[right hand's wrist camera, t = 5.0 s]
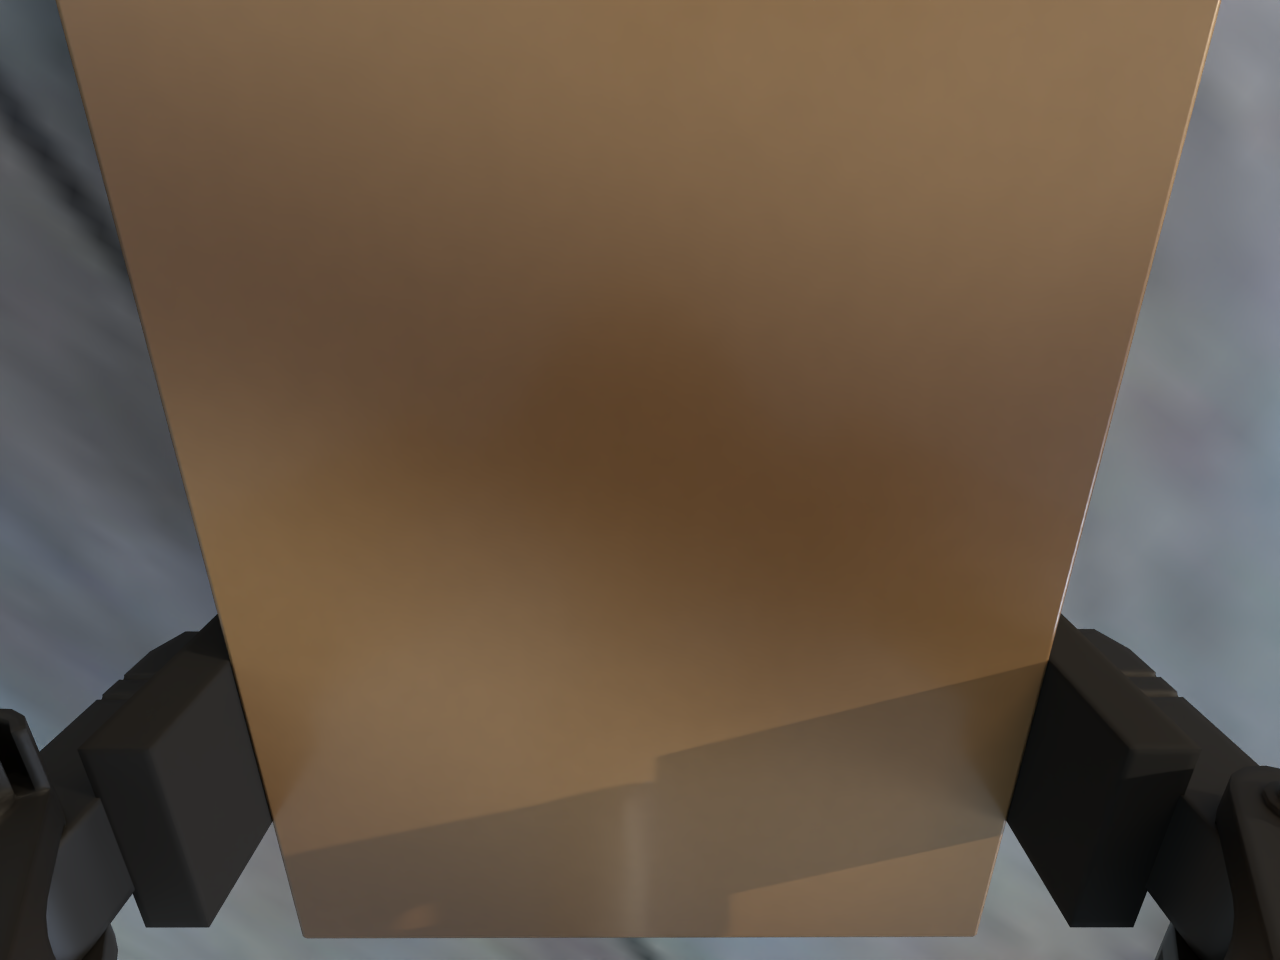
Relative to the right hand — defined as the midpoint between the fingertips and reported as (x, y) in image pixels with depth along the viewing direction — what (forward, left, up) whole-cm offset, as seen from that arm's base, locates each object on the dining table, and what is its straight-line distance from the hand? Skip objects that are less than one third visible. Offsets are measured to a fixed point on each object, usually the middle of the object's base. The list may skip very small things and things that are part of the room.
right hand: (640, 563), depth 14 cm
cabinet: (+4, +3, -4) cm, 6 cm away
